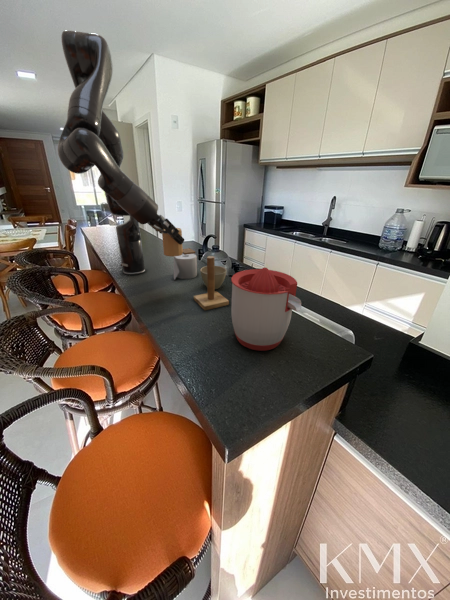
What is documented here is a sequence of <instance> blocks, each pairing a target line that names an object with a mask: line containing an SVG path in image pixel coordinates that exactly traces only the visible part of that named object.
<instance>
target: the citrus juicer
mask: <svg viewBox="0 0 450 600" xmlns="http://www.w3.org/2000/svg"><path fill="white" fill-rule="evenodd" d="M230 281H231V283H232V284H231V309H230V311H231V312H230V313H231V323H232V327H233V332H234V336H235V337H236V340H237V341H238V342H239V344H240V345H241V346H243V347H245V348H247V349H249V350H254V351H259V352H260V351H261V352H262V351H263V352H264V351H265V352H266V351H269V350H273V349H275V348H277V347H278V346H279V345H280V344H281V342H282V341H283V339H284V338H285V335H286V333H287V331H288V329H289V326H290V323H291V319H292V313H293V311H295V312H299V311H301V309H302V300H301V299H300V298H299V297H297V296H296V295H297V288H298V281H297V279H295V277H293V276H291V275H289V274H288V273H285V272H281V271H278V270H273V269H269V268H268V267H263V268H255V269H253V268H252V269H245V270H240V271H238V272H235V273H234V274H233V275H232V276H231V279H230Z"/></svg>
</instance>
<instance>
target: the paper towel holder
mask: <svg viewBox="0 0 450 600" xmlns="http://www.w3.org/2000/svg"><path fill="white" fill-rule="evenodd" d="M215 262H216V261H215V256H213V255H209V256H207V257H206V266H207V286H206V288H207V289H206V291H207V292H206V293H205V292H204V293H201V294H195V295H193V300H194V302H196V304H198V306H199V307H200V308H202V309H203V310H204V311H209V310H213V309H217V308H222V307H225V306H229V305H230V301H229V299H227V298H226V297H225V296H223V295H222V294H221V293H220V292H218V291H215V290H216V289H215V266H216V264H215Z"/></svg>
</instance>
